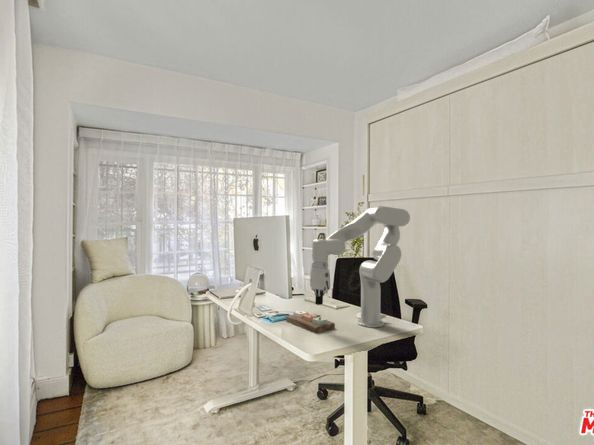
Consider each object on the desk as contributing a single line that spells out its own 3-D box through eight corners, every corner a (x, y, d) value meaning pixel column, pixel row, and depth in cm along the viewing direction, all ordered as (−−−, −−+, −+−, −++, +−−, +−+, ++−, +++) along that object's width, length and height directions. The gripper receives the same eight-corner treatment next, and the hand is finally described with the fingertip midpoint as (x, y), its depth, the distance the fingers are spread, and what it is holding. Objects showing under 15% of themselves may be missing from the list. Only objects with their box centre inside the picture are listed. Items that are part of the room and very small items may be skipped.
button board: (305, 317, 175) (305, 312, 175) (334, 328, 156) (334, 323, 156) (286, 321, 168) (286, 316, 168) (315, 333, 149) (315, 327, 149)
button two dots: (310, 319, 165) (310, 313, 165) (316, 322, 161) (317, 315, 161) (302, 321, 162) (302, 314, 162) (308, 323, 158) (309, 317, 158)
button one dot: (301, 316, 171) (301, 310, 171) (307, 318, 167) (307, 312, 167) (293, 317, 168) (293, 311, 168) (299, 320, 164) (299, 313, 164)
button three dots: (320, 323, 159) (320, 316, 159) (327, 325, 155) (327, 319, 155) (312, 325, 156) (312, 318, 156) (319, 327, 152) (319, 320, 152)
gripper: (336, 266, 152) (335, 306, 152) (315, 263, 164) (315, 300, 164) (324, 267, 148) (323, 308, 148) (304, 264, 160) (303, 302, 160)
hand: (319, 304), depth 156 cm, fingers closed
